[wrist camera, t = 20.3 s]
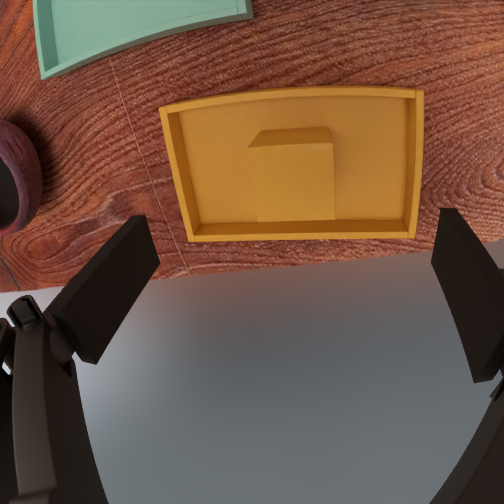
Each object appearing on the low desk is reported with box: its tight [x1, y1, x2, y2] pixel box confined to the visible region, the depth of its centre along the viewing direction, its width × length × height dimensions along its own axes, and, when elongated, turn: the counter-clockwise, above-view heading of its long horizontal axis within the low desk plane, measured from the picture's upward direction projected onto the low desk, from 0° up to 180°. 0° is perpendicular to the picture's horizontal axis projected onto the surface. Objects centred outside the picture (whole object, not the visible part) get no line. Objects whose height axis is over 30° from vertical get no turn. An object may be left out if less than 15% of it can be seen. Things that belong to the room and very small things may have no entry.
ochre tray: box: [159, 85, 424, 242], centre depth 22 cm, size 18×11×3 cm, turn 97°
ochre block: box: [247, 127, 336, 222], centre depth 21 cm, size 5×5×5 cm
